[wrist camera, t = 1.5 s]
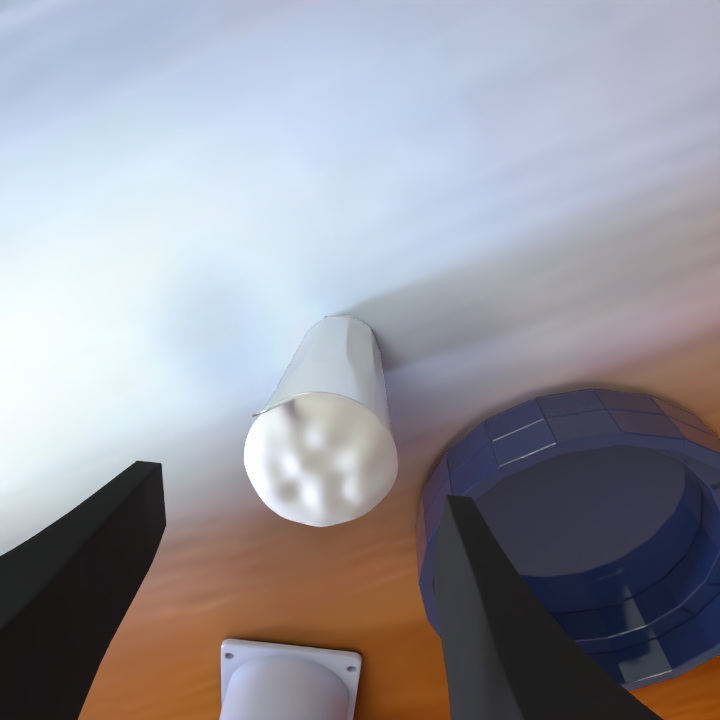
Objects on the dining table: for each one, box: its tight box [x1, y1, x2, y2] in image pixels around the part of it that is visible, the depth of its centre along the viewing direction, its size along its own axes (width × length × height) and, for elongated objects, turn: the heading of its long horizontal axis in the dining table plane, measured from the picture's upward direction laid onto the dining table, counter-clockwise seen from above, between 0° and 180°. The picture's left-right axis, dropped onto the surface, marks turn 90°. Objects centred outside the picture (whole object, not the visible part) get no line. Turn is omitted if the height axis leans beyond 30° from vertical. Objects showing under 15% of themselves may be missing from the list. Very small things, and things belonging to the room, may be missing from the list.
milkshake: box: [244, 315, 398, 527], centre depth 19 cm, size 5×5×10 cm
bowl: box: [416, 389, 720, 691], centre depth 25 cm, size 15×15×4 cm
